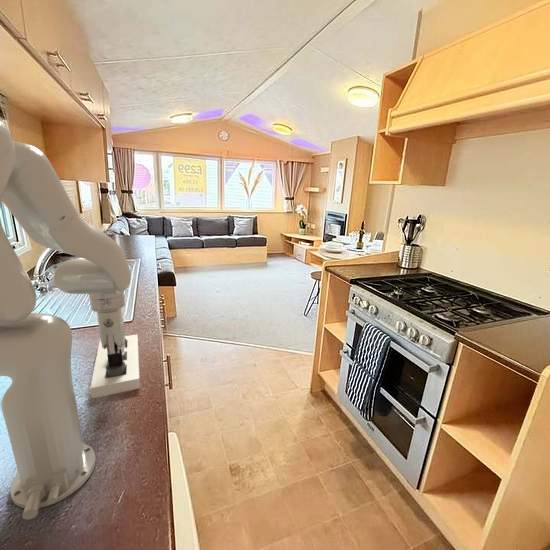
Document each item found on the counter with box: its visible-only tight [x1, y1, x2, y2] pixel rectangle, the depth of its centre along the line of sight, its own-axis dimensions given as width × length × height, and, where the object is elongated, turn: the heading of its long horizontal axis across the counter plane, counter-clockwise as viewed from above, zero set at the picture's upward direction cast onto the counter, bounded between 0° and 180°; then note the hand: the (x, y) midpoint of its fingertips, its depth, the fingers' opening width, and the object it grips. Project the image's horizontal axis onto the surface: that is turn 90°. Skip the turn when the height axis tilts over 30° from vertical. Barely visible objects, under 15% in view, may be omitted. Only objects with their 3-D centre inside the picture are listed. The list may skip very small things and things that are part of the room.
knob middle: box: [120, 343, 125, 359], centre depth 87 cm, size 5×5×4 cm
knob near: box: [106, 362, 126, 378], centre depth 81 cm, size 5×5×4 cm
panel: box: [89, 334, 141, 399], centre depth 88 cm, size 26×11×3 cm, turn 24°
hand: (116, 364), depth 81 cm, fingers closed
